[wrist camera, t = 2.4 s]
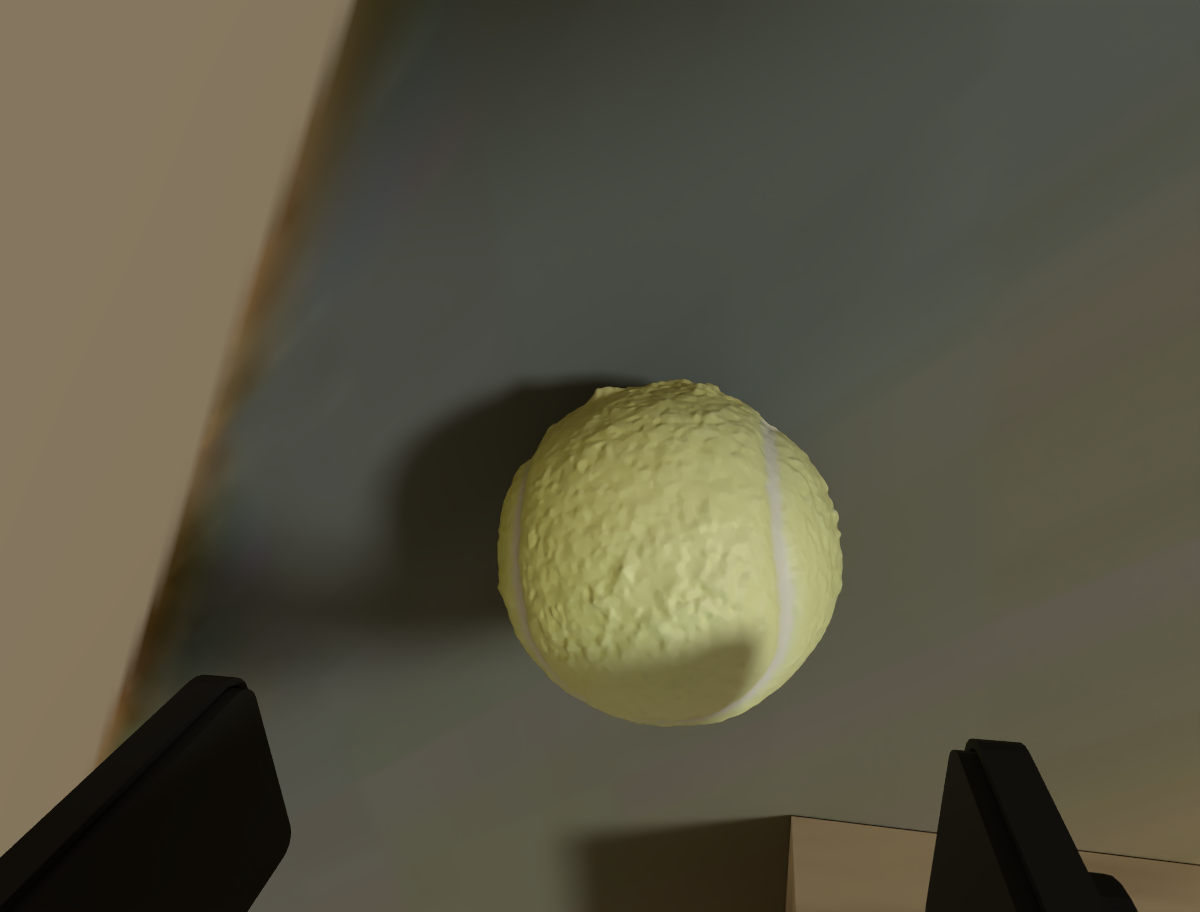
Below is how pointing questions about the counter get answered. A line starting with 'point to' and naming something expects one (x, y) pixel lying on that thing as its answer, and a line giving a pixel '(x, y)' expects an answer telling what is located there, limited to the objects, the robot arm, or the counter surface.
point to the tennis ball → (668, 554)
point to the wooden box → (903, 866)
